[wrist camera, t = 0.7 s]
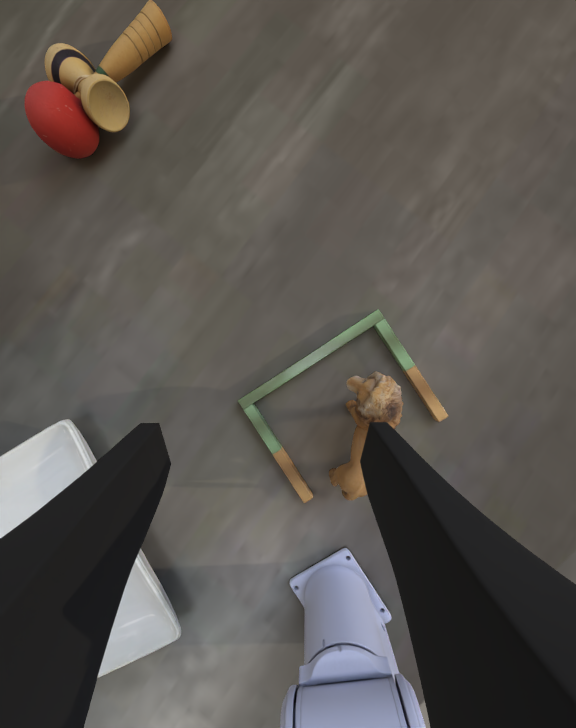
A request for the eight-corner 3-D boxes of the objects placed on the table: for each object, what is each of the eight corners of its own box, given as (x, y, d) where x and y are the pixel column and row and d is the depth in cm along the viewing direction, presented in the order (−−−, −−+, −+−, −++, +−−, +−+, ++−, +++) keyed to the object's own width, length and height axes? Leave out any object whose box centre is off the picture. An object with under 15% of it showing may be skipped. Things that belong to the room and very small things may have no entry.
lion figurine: (338, 365, 30) (352, 370, 21) (387, 370, 30) (421, 377, 21) (325, 492, 31) (333, 549, 22) (372, 499, 30) (400, 559, 21)
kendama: (142, 28, 32) (32, 134, 30) (117, -52, 25) (-23, 78, 24) (194, 81, 33) (90, 186, 32) (182, 18, 27) (53, 145, 25)
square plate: (198, 607, 32) (183, 641, 28) (17, 694, 34) (-20, 737, 31) (90, 410, 32) (61, 417, 29) (-84, 509, 34) (-133, 529, 31)
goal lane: (444, 414, 30) (449, 416, 29) (304, 498, 31) (304, 503, 30) (376, 310, 30) (378, 309, 29) (239, 399, 31) (237, 400, 30)
